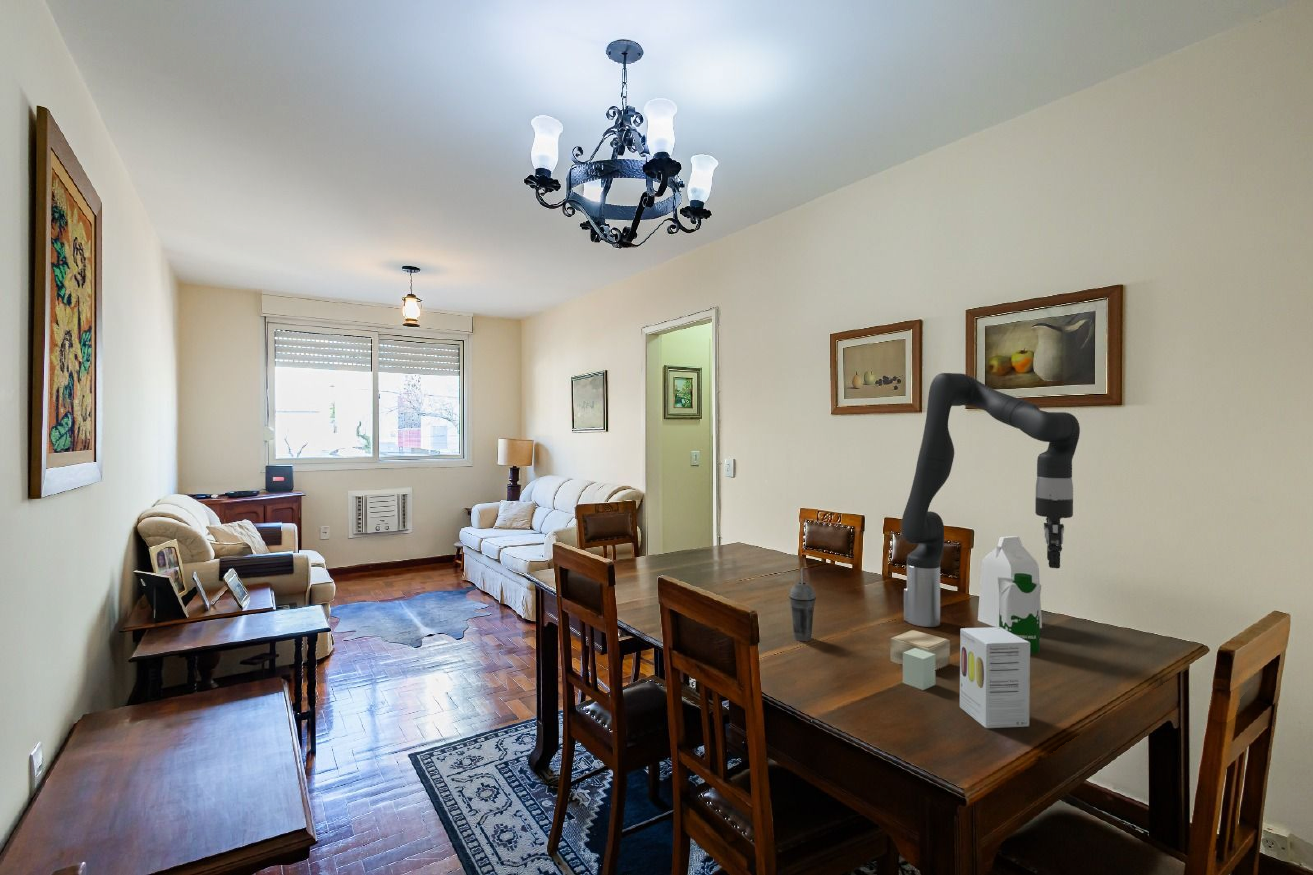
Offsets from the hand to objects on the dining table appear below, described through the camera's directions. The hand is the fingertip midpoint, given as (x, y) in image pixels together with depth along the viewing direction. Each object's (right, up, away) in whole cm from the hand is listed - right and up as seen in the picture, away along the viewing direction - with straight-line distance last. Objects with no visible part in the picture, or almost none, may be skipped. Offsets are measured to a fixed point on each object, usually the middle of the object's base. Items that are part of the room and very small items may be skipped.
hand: (1053, 564), depth 147 cm
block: (-34, -26, -6) cm, 44 cm away
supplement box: (-26, -27, -22) cm, 43 cm away
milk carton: (+1, -26, +17) cm, 31 cm away
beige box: (-29, -26, +7) cm, 40 cm away
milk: (+10, -26, +37) cm, 46 cm away
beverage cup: (-54, -26, +25) cm, 65 cm away
